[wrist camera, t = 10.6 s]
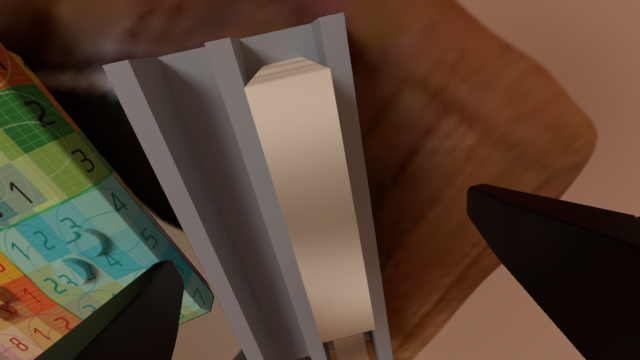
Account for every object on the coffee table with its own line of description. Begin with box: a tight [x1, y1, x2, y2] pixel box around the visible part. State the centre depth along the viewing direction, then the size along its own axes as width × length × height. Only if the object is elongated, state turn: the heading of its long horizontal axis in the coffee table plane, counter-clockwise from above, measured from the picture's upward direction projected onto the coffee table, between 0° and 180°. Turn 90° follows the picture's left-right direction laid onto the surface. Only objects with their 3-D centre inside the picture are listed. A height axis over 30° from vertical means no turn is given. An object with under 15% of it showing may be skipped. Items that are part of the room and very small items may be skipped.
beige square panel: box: [244, 57, 375, 343], centre depth 13 cm, size 9×2×9 cm, turn 11°
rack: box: [102, 12, 393, 360], centre depth 19 cm, size 24×10×4 cm, turn 11°
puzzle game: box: [0, 43, 214, 360], centre depth 16 cm, size 12×5×20 cm
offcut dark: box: [333, 333, 369, 360], centre depth 22 cm, size 4×2×2 cm, turn 11°
